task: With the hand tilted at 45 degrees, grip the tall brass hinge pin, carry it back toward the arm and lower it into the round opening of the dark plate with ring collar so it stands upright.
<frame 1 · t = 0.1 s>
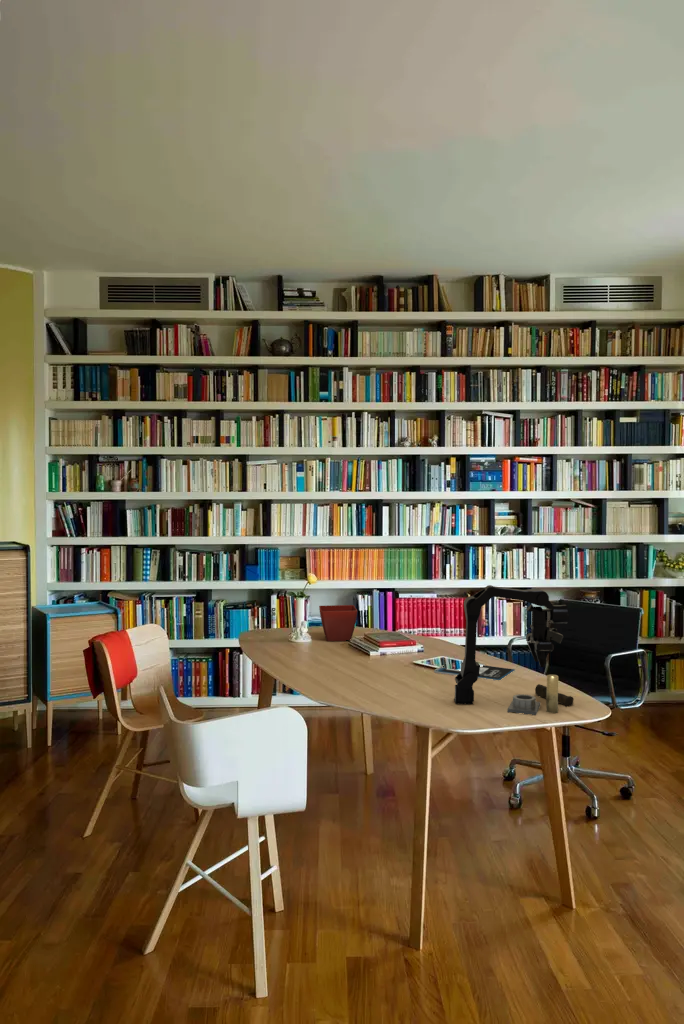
hand: (539, 664, 289), 15 cm above the table, tool pointing down, fingers open, 9 cm apart
plant pot: (337, 639, 412), on the table
plate with ring collar: (524, 708, 282), on the table
sketchbook: (474, 673, 340), on the table
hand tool: (551, 701, 294), on the table
brass hinge pin: (552, 711, 279), on the table
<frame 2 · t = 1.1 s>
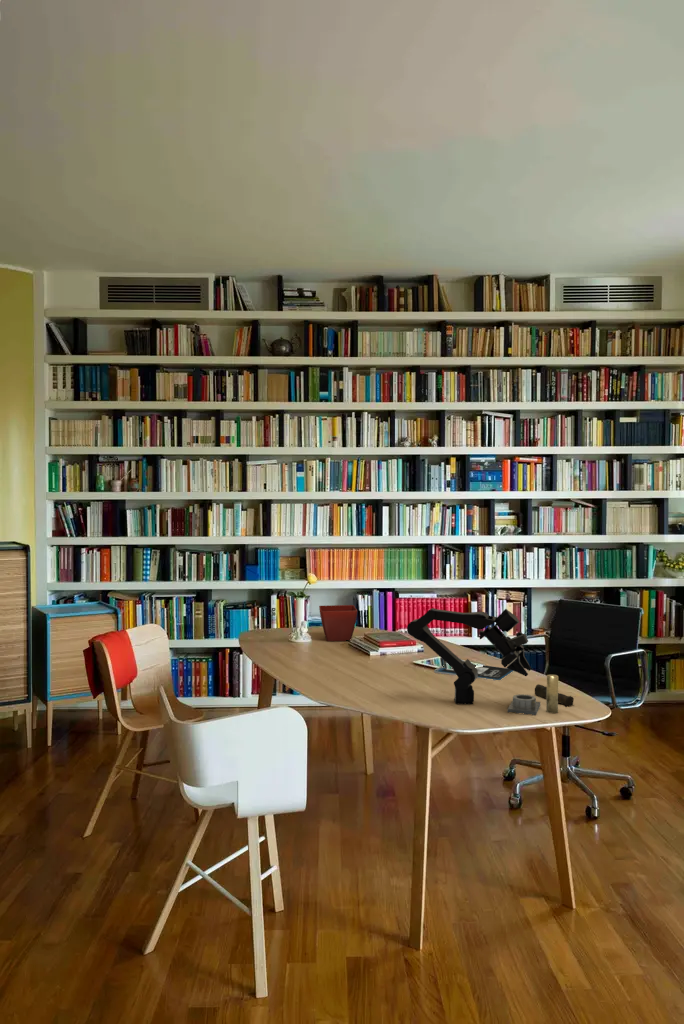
hand: (528, 672, 281), 13 cm above the table, tool tilted 45°, fingers open, 9 cm apart
nothing on the table moved.
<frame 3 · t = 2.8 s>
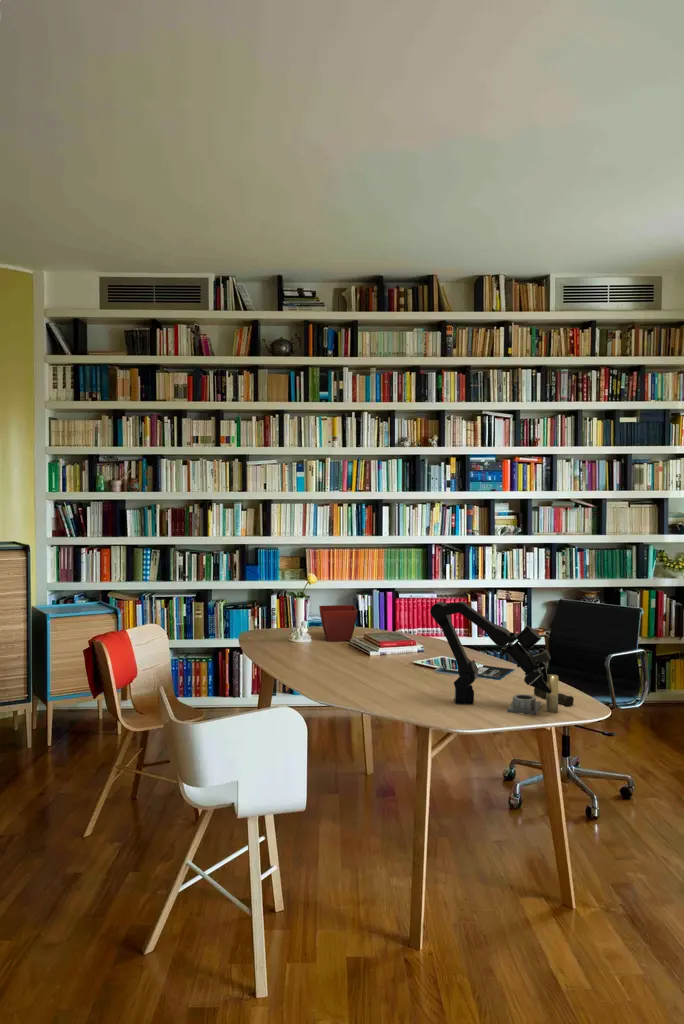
hand: (551, 689, 279), 8 cm above the table, tool tilted 45°, fingers open, 9 cm apart
nothing on the table moved.
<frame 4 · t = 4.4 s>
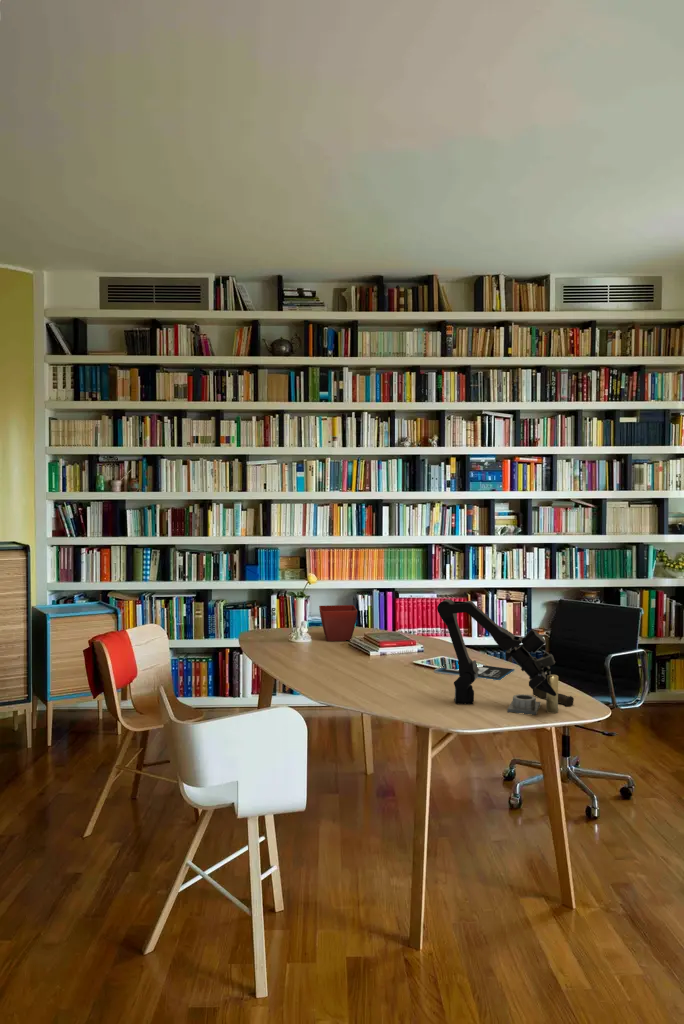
hand: (556, 693, 278), 7 cm above the table, tool tilted 45°, fingers closed on brass hinge pin, 4 cm apart
brass hinge pin: (552, 711, 279), on the table, touching gripper
everything else where it was.
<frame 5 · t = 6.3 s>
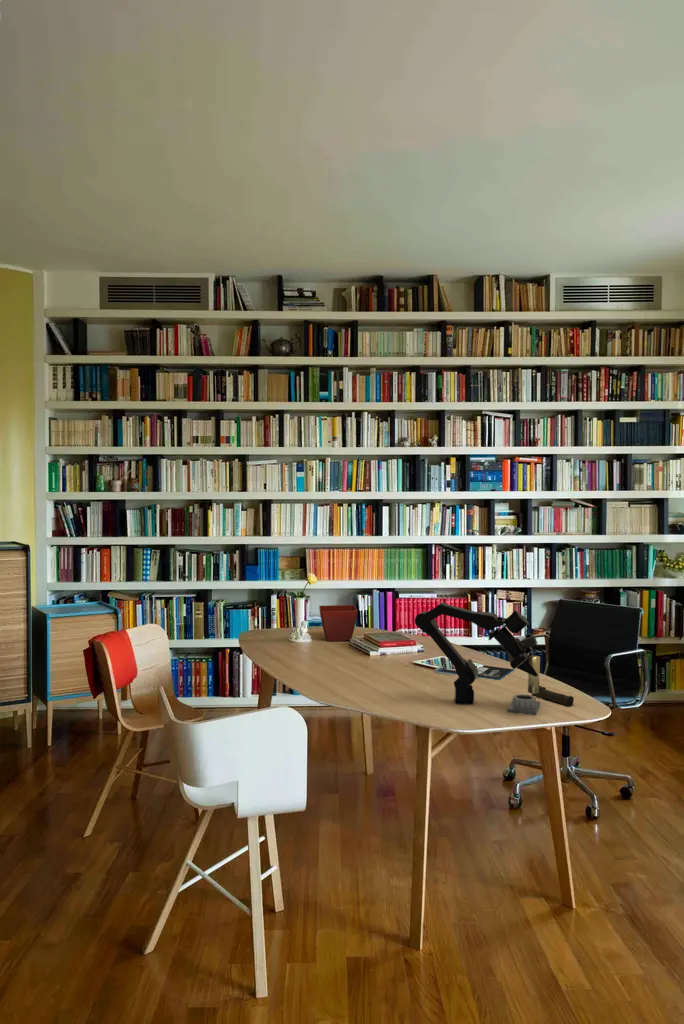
hand: (537, 674, 280), 13 cm above the table, tool tilted 45°, fingers closed on brass hinge pin, 4 cm apart
brass hinge pin: (533, 692, 281), point 6 cm above the table, touching gripper
everything else where it was.
when the fingers open (8 cm above the table, at t = 8.1 s): brass hinge pin stays where it is, resting on plate with ring collar.
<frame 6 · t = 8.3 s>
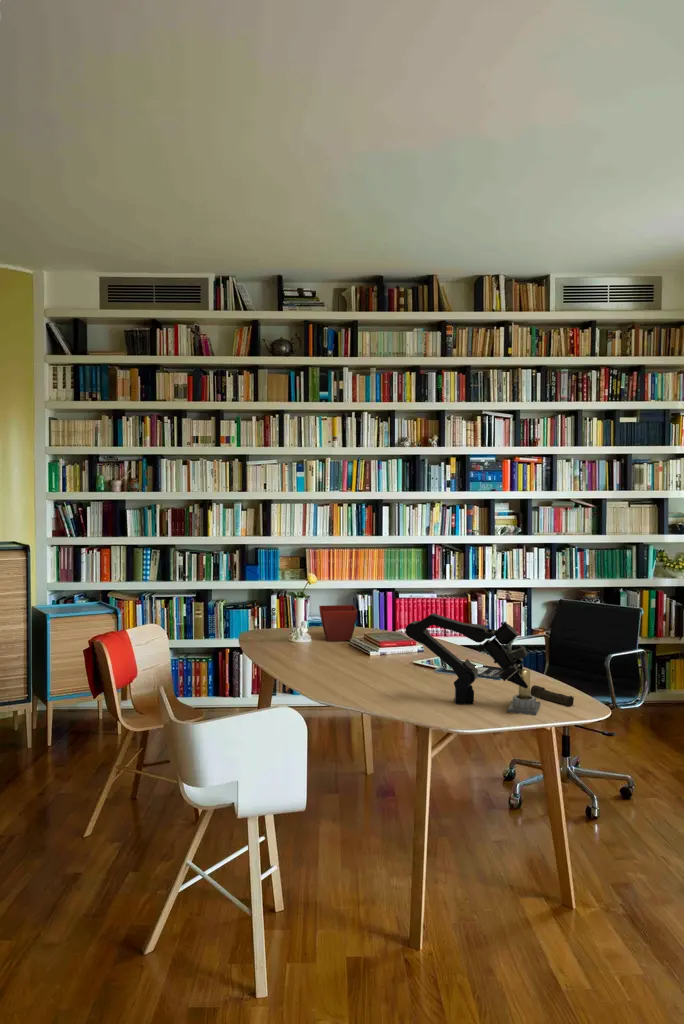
hand: (528, 685, 282), 9 cm above the table, tool tilted 45°, fingers open, 6 cm apart
brass hinge pin: (524, 705, 282), point 1 cm above the table, touching plate with ring collar
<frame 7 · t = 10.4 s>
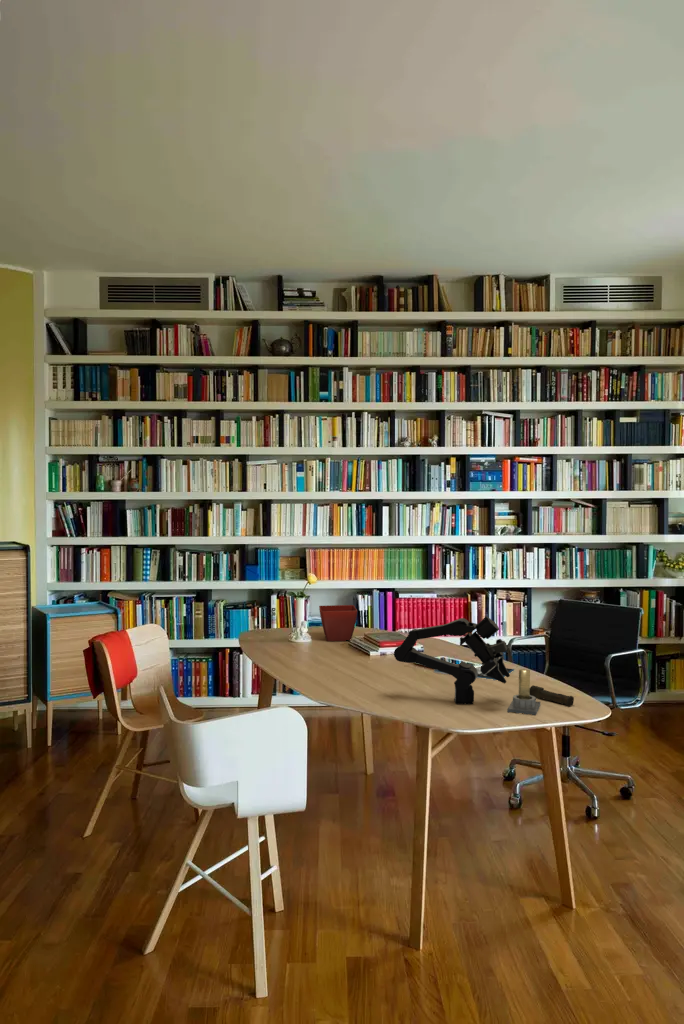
hand: (507, 679, 285), 10 cm above the table, tool tilted 45°, fingers open, 9 cm apart
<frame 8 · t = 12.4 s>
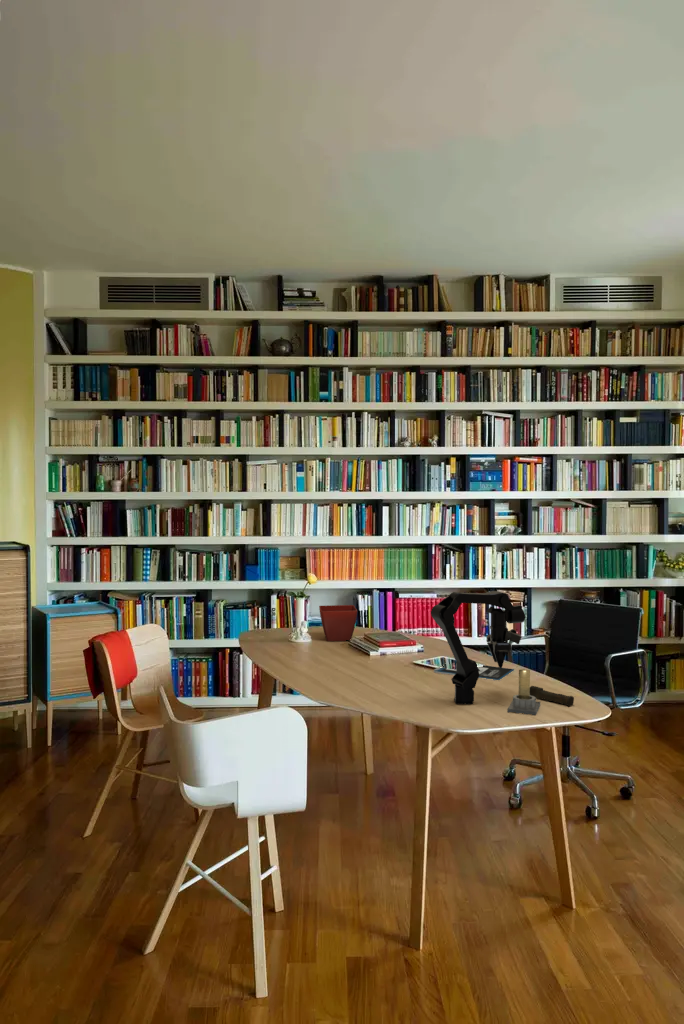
hand: (498, 664, 296), 13 cm above the table, tool pointing down, fingers open, 9 cm apart
at the end: brass hinge pin 0.1 cm off-centre on the plate with ring collar, point 1.2 cm above the plate with ring collar's base; brass hinge pin tilted 0°; the gripper is holding nothing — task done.
